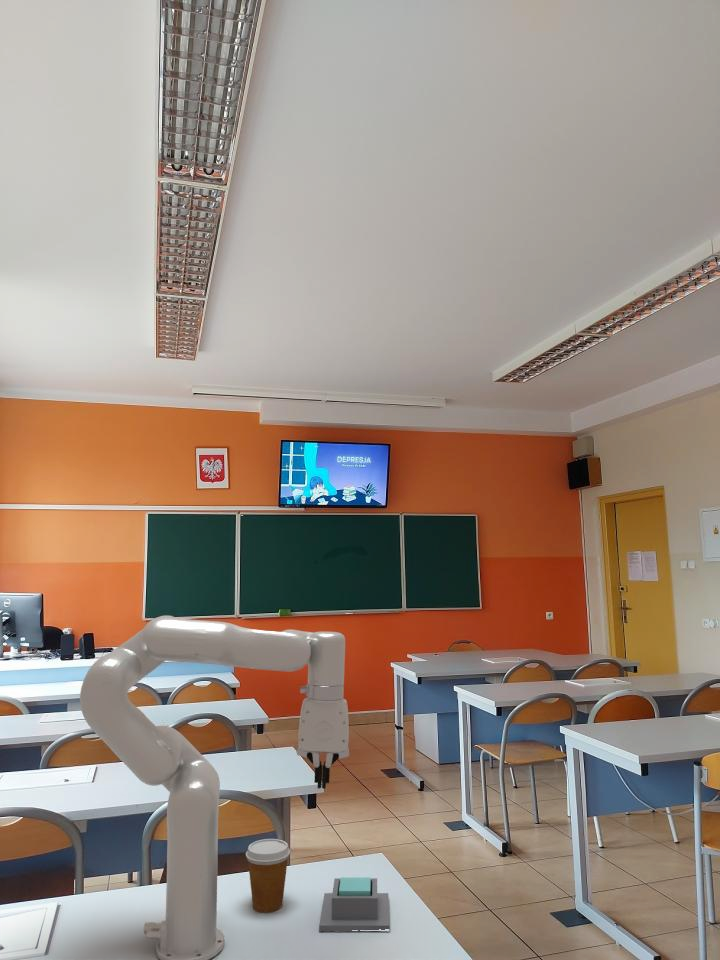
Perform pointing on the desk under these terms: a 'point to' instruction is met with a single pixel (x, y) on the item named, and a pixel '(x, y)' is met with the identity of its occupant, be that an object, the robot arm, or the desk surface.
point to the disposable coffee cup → (267, 873)
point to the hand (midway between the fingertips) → (321, 786)
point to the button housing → (354, 910)
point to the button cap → (355, 886)
